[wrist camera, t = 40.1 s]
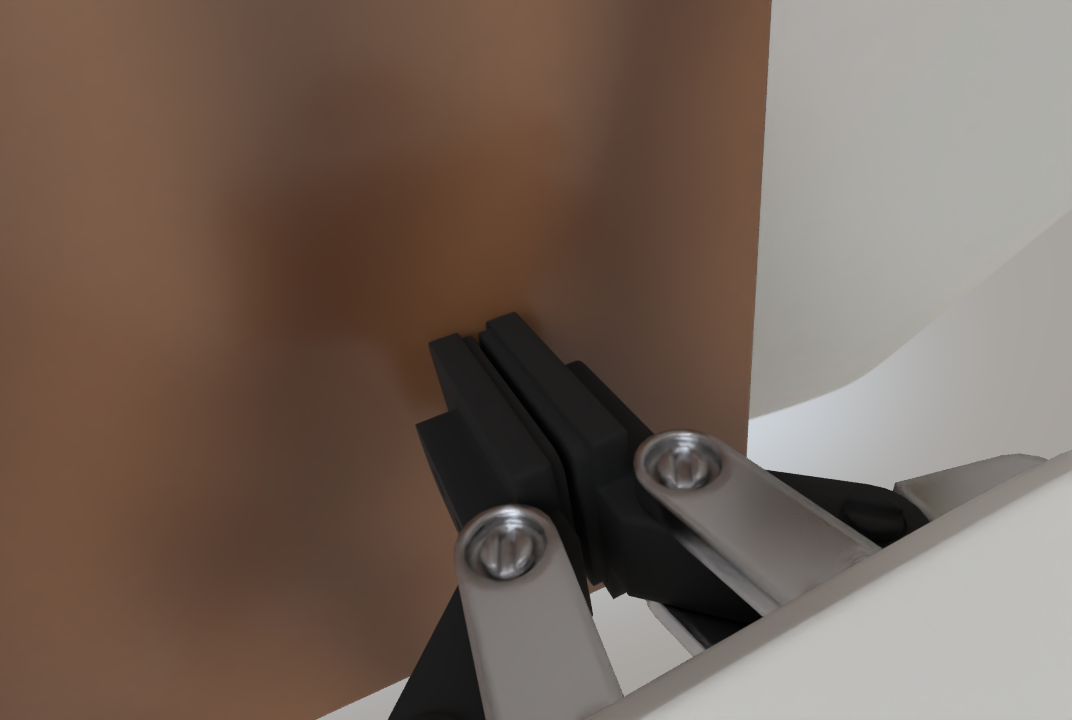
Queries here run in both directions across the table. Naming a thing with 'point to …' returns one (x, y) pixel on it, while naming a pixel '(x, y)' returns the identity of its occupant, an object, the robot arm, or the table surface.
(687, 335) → the lid
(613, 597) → the robot arm
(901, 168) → the table surface
